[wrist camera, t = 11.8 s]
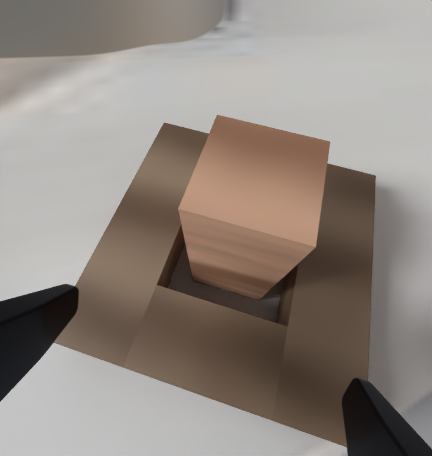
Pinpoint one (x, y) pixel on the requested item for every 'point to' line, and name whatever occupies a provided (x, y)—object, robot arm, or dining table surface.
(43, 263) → the dining table surface
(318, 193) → the terracotta peg
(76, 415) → the dining table surface
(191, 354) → the walnut hole board
